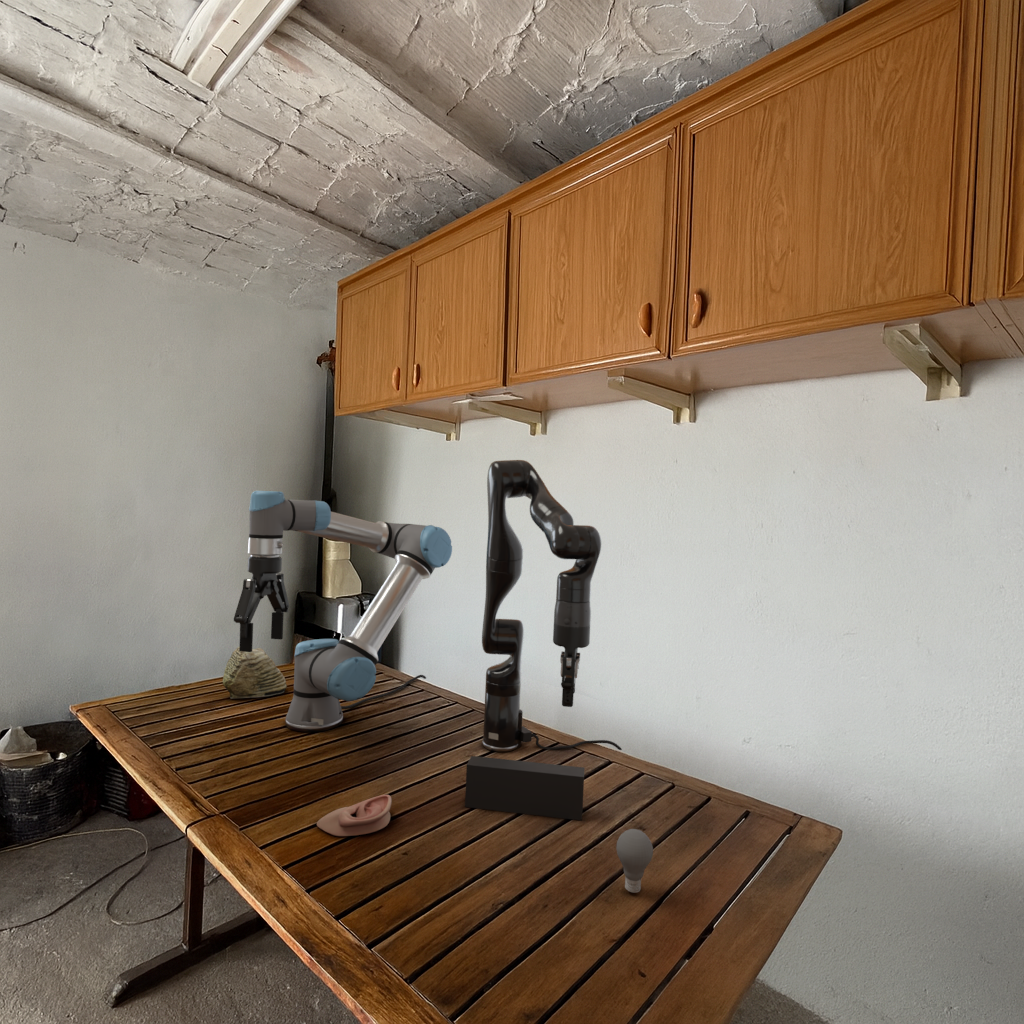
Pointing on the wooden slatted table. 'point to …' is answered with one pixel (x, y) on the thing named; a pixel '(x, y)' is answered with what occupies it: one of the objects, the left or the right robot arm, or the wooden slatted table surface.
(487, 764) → the bar
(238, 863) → the wooden slatted table surface
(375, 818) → the anatomical model
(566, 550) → the right robot arm
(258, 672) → the fossil
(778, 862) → the wooden slatted table surface
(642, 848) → the light bulb
